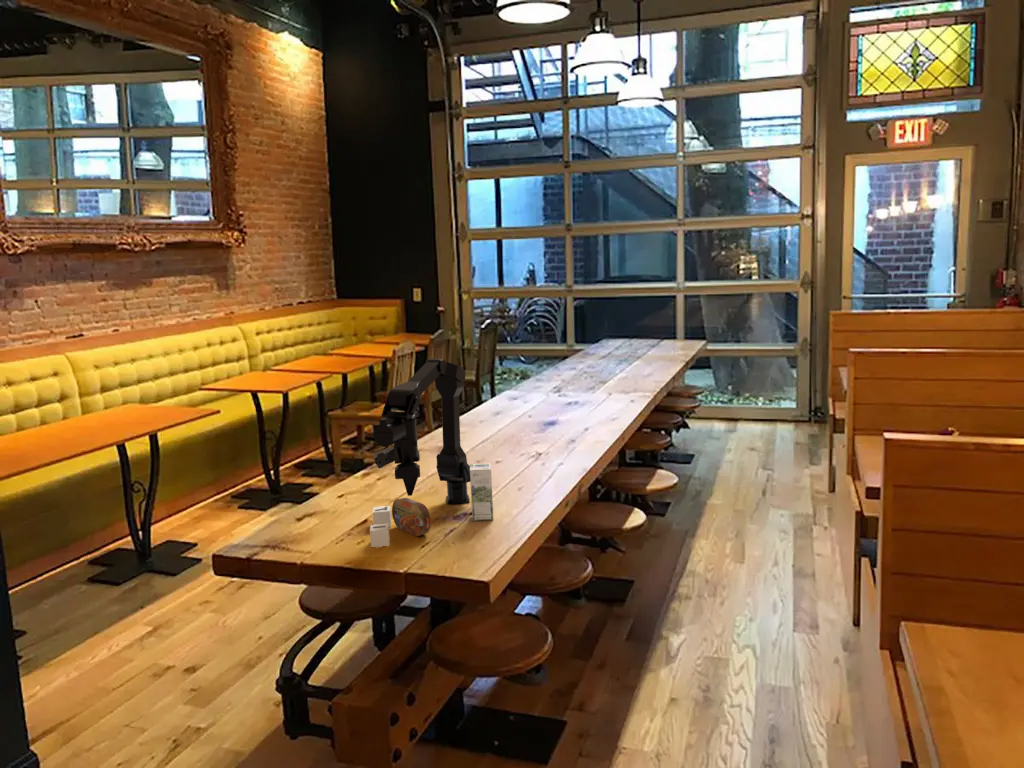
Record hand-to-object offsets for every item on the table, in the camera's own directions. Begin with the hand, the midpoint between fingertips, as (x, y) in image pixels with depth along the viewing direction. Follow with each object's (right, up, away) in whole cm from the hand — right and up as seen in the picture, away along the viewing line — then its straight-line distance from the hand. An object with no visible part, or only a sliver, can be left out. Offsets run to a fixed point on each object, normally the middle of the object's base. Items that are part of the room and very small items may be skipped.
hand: (409, 495), depth 215 cm
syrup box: (+19, -8, +10) cm, 22 cm away
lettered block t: (-8, -9, +8) cm, 15 cm away
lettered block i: (-7, -12, -6) cm, 15 cm away
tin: (+1, -10, +2) cm, 10 cm away
